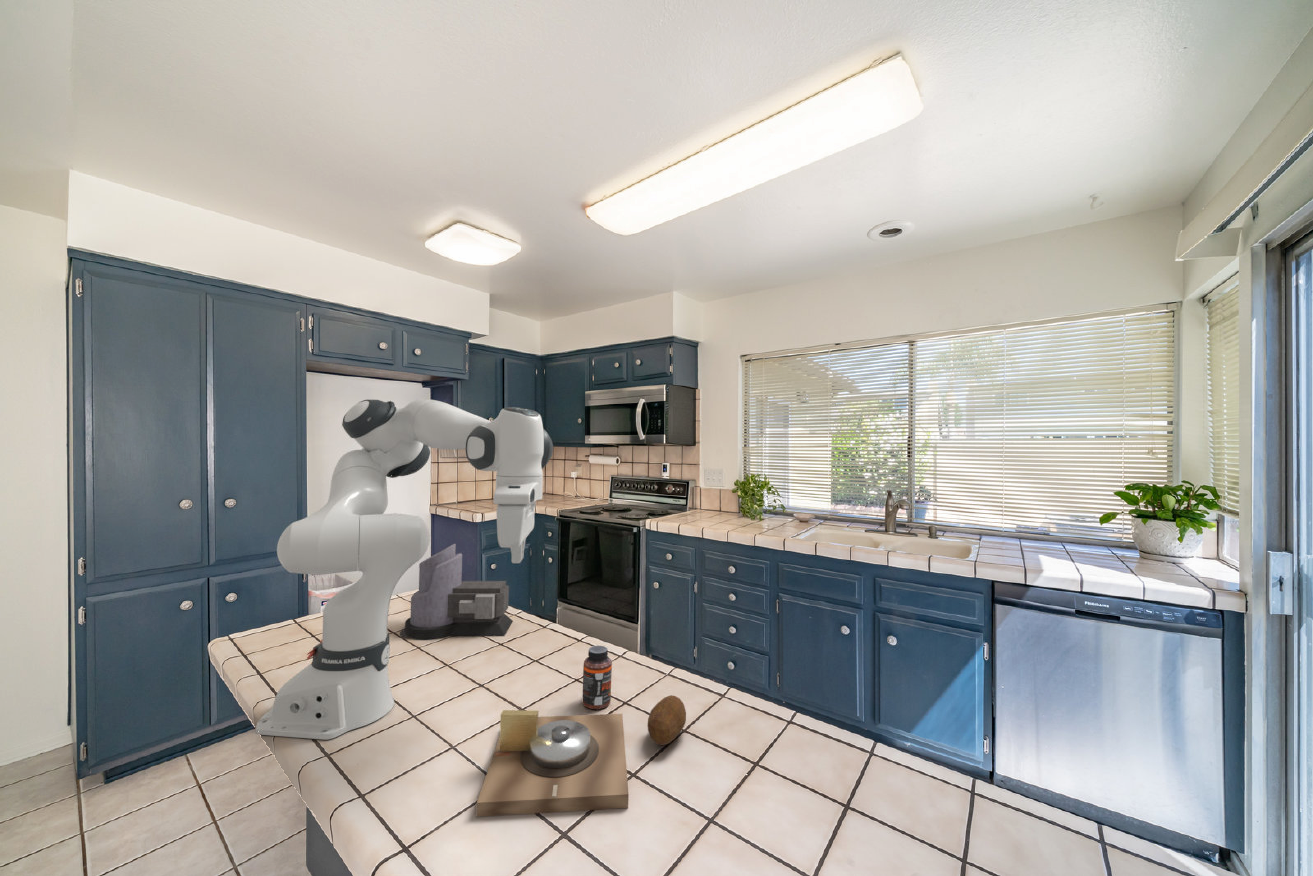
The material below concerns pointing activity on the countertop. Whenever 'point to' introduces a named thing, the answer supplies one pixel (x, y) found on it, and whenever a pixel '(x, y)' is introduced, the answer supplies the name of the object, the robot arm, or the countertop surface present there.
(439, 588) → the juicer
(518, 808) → the panel
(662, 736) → the potato
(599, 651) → the supplement bottle
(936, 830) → the countertop surface
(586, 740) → the grey round gold-handled piece
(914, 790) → the countertop surface
